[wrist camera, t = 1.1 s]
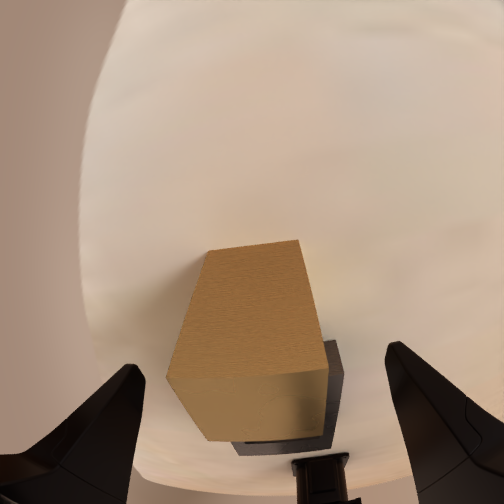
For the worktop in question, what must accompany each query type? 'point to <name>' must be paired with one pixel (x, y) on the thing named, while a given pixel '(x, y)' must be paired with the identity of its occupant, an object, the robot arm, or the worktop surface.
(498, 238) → the worktop surface
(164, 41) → the worktop surface
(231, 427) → the brass block
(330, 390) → the steel rail
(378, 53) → the worktop surface
